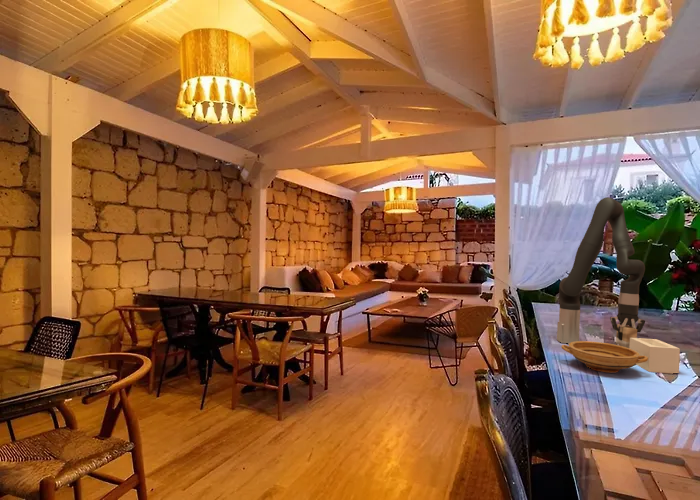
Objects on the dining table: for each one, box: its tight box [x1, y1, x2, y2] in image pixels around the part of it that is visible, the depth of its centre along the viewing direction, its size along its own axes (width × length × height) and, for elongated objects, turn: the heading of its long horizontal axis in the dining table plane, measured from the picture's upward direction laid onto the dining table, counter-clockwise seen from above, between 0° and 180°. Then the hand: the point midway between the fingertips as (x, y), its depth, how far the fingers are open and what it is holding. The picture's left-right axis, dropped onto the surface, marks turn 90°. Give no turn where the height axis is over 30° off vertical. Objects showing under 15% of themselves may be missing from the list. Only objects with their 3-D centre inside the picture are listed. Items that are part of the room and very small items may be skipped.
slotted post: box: [629, 337, 681, 374], centre depth 163 cm, size 10×15×10 cm
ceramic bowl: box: [560, 340, 648, 374], centre depth 159 cm, size 30×24×8 cm
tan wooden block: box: [615, 323, 638, 348], centre depth 180 cm, size 4×10×9 cm, turn 168°
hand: (626, 340), depth 180 cm, fingers closed on tan wooden block, 4 cm apart
